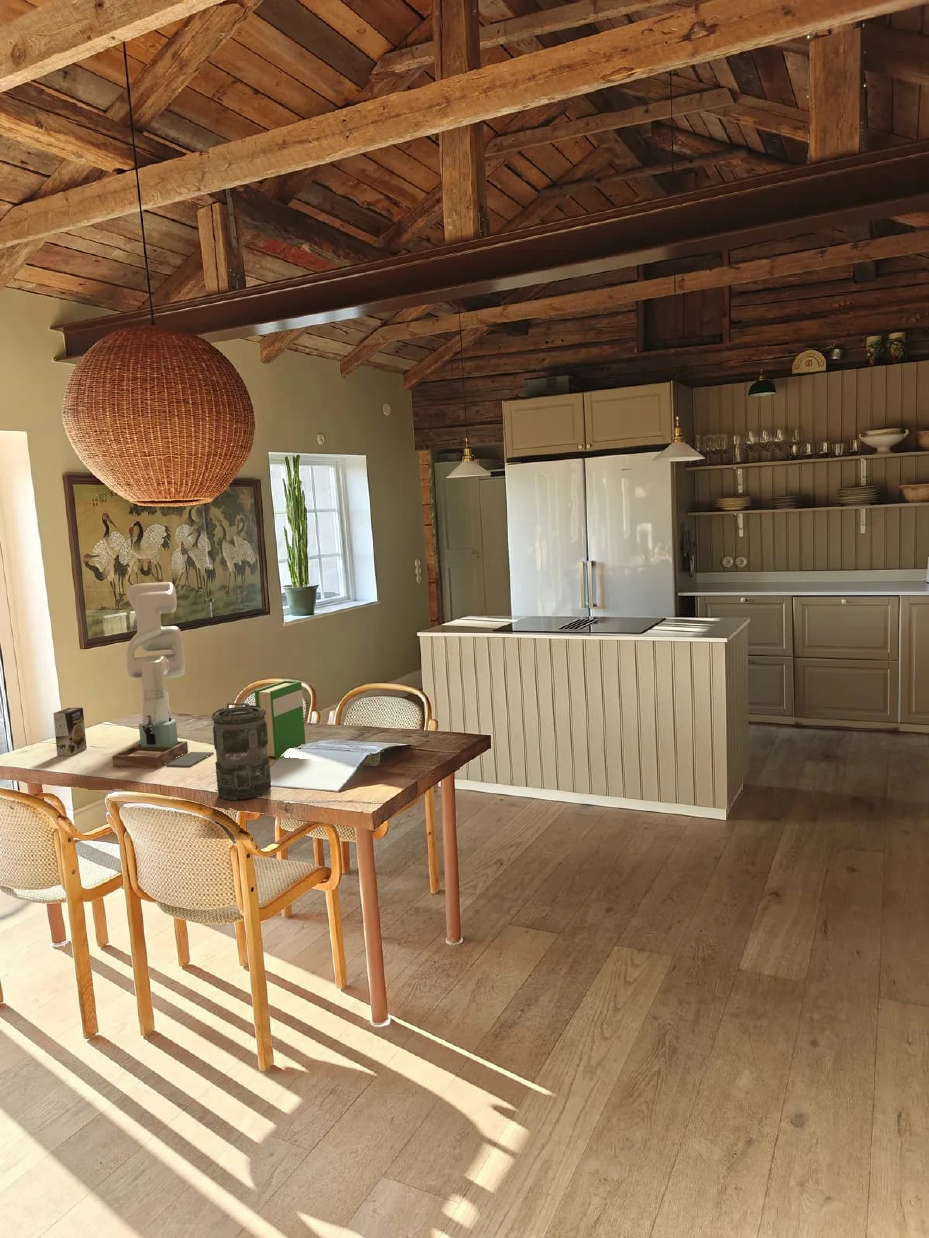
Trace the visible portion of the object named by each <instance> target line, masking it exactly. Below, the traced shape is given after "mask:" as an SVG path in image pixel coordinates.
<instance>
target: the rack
mask: <svg viewBox="0 0 929 1238" xmlns="http://www.w3.org/2000/svg"><path fill="white" fill-rule="evenodd" d="M188 747H189V744H188V741H187V740H186V741H184V740H181V741H179V740H178V745H177V746H175V747H141V742H140V743H137V744H135V745H133V746H131V747H129V748H126V749H125V750H122V751H119V752H118V753H115V754H113V755H112V756H111V759H112V768H120V767H121V768H122V769H123V768H127V769H130V768H131V769H156V770H157V769H159V768H161V767H164V764H165V763H167V764H169V763H170V762H169V761H171V760H172V761H175V760H176V759H177V758H176V757H178V756H180V757H182V756H183V755H182V754H184V753H186V754H188V753H189V748H188ZM137 751H154V752H163V753H161V754H159V755H157V756H127V755H130V754H132V753H134V752H137ZM187 752H188V753H187ZM181 755H182V756H181ZM184 755H185V754H184ZM175 758H176V759H175ZM178 758H179V757H178ZM172 761H171V762H172ZM168 762H169V763H168ZM165 765H166V764H165ZM158 767H159V768H158Z"/></svg>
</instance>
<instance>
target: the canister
mask: <svg viewBox="0 0 929 1238" xmlns="http://www.w3.org/2000/svg"><path fill="white" fill-rule="evenodd" d="M230 706H233V707H230ZM265 714H266V712H265V710H264V709H261V707H260V706H256V705H252V704H251V705H250V704H249V703H248V702H228V703H227V704H226V708H224V707H223V708H220V709H218V710H216V711H214V712H213V713H212V716H211V719H212V720H213V726H212V733H213V735H212V736H213V745H214V746H213V747H214V750H215V754H216V755H215V756H216V761H215V773H216V774H215V775H216V786H217V795H219V796H221V798H222V799H224V800H228V801H239V800H246V799H251V798H256V797H259V796H258V795H262V794H264V795H266V794H268V793H269V792H270V791H269V790H271V788H272V785H271V783H272V780H271V777H272V776H271V767H270V756H267V744H268V737H267V722H266V721H265ZM268 791H269V792H268ZM267 792H268V793H267ZM255 796H256V797H255Z"/></svg>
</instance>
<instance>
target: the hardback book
mask: <svg viewBox="0 0 929 1238" xmlns="http://www.w3.org/2000/svg"><path fill="white" fill-rule="evenodd" d="M254 700H255V701H254V703H255V706H260V707H261V709H264V710H265V712H266V714H265V721H266V722H267V737H268V744H267V756H268V757H274V756H275V757H274V759H275V758H279V757H280V756H281V754H283V753H284V752H285V751H286V750H287V749H289V748H294V747H298V746H300V745H301V744H306V734H305V733H306V732H305V718H304V717H305V715H304V702H303V701H304V700H303V687H302V681H301V680H286V679H285V680H282V681H279V682H275V683H273V684H269V685H267V686H264V687H260V688H257V689H255V690H254ZM279 759H280V758H279Z"/></svg>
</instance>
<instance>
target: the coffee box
mask: <svg viewBox="0 0 929 1238" xmlns="http://www.w3.org/2000/svg"><path fill="white" fill-rule="evenodd" d="M52 714H53V723H54V733H55V734H54V736H55V743H56V744H55V745H56V747H55V748H56V755H57V756H68V757H70V756H74V755H77V754H78V753H81V751H82V752H84V751H86V750H87V736H86V728H85V717H84V707H66V708H65V709H62V710H58V711H55V712H53V713H52ZM85 749H86V750H85ZM83 750H84V751H83ZM76 753H77V754H76Z"/></svg>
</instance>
